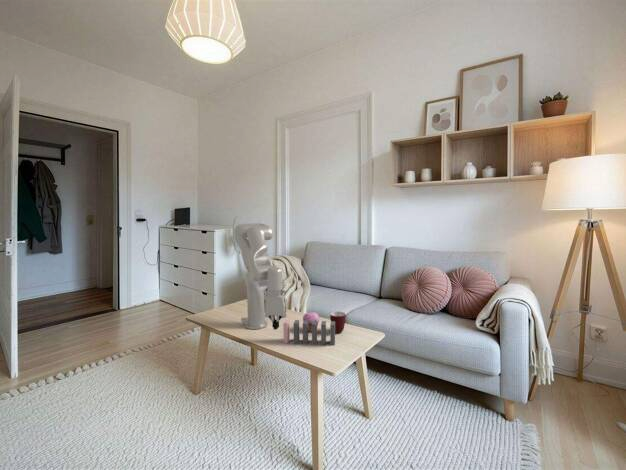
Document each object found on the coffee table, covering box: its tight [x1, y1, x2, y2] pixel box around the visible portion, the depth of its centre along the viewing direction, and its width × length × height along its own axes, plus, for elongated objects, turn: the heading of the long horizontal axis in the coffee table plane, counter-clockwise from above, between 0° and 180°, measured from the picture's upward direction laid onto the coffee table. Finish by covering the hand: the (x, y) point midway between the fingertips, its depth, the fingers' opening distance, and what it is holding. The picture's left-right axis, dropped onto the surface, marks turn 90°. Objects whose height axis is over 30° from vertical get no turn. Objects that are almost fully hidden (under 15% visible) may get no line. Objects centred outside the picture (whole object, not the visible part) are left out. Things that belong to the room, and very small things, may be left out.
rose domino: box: [282, 319, 291, 344], centre depth 152 cm, size 2×5×10 cm, turn 173°
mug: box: [329, 311, 347, 335], centre depth 164 cm, size 11×8×10 cm
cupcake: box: [302, 311, 320, 333], centre depth 166 cm, size 9×9×10 cm
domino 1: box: [293, 319, 300, 345], centre depth 152 cm, size 2×5×10 cm, turn 173°
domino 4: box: [320, 320, 327, 346], centre depth 150 cm, size 2×5×10 cm, turn 173°
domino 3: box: [311, 321, 318, 346], centre depth 151 cm, size 2×5×10 cm, turn 173°
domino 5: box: [329, 320, 336, 346], centre depth 150 cm, size 2×5×10 cm, turn 173°
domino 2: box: [302, 320, 309, 345], centre depth 151 cm, size 2×5×10 cm, turn 173°
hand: (275, 328), depth 153 cm, fingers closed
